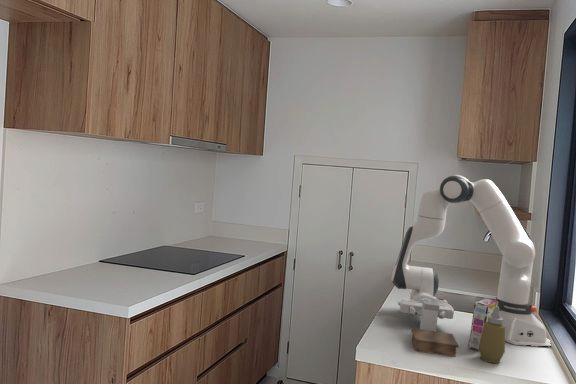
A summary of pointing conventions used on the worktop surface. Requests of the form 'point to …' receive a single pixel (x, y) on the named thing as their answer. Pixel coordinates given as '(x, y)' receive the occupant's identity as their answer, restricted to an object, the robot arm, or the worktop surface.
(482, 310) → the candy bar box
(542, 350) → the worktop surface
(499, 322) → the squeeze bottle
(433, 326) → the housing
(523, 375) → the worktop surface
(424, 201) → the robot arm
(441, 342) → the stand
